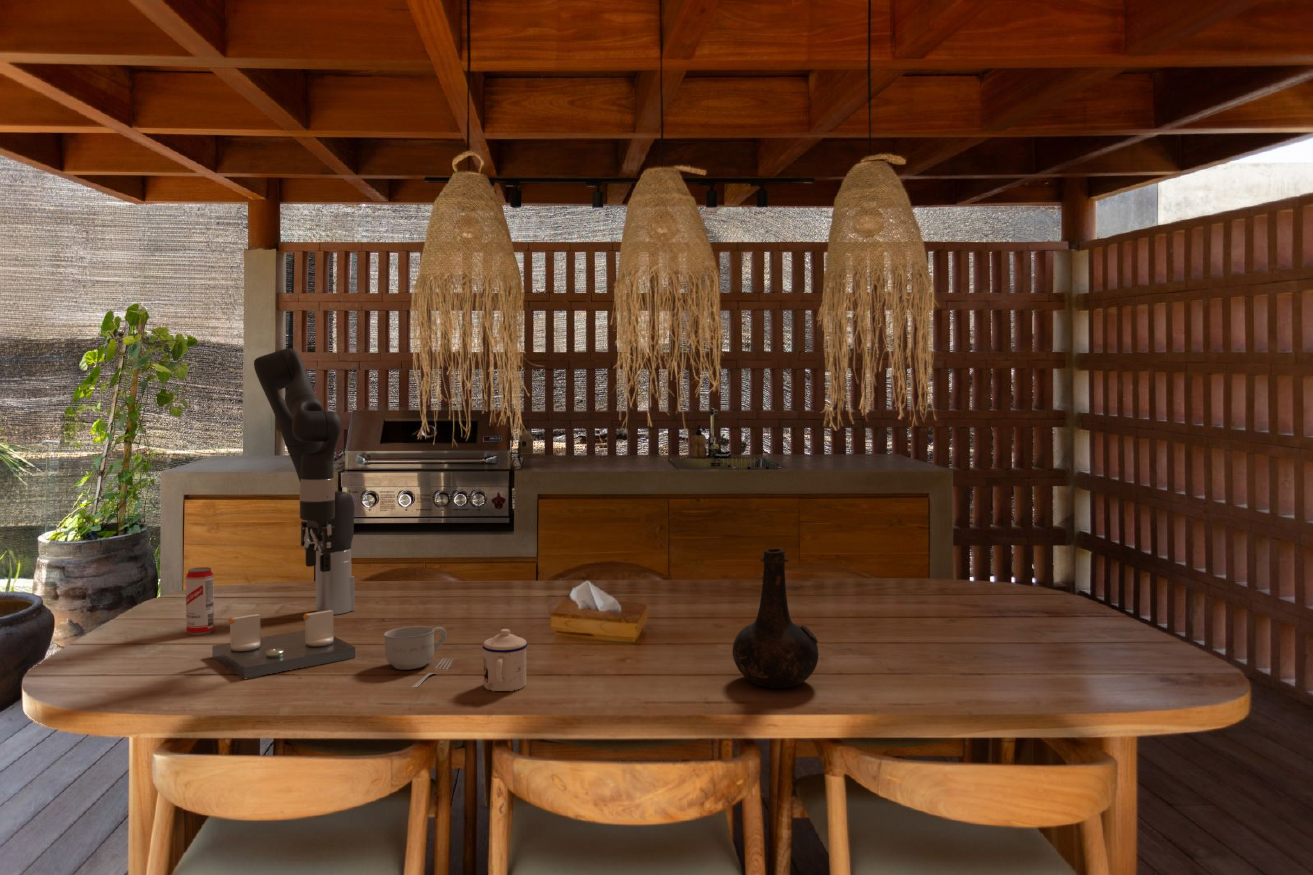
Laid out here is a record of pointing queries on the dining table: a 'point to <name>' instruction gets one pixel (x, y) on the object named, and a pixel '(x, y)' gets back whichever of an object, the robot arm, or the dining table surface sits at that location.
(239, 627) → the knob
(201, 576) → the beer can
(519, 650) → the teacup with lid
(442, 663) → the fork
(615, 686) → the dining table surface
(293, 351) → the robot arm
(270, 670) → the levelling base
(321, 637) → the knob
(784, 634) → the glass bottle
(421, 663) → the teacup
